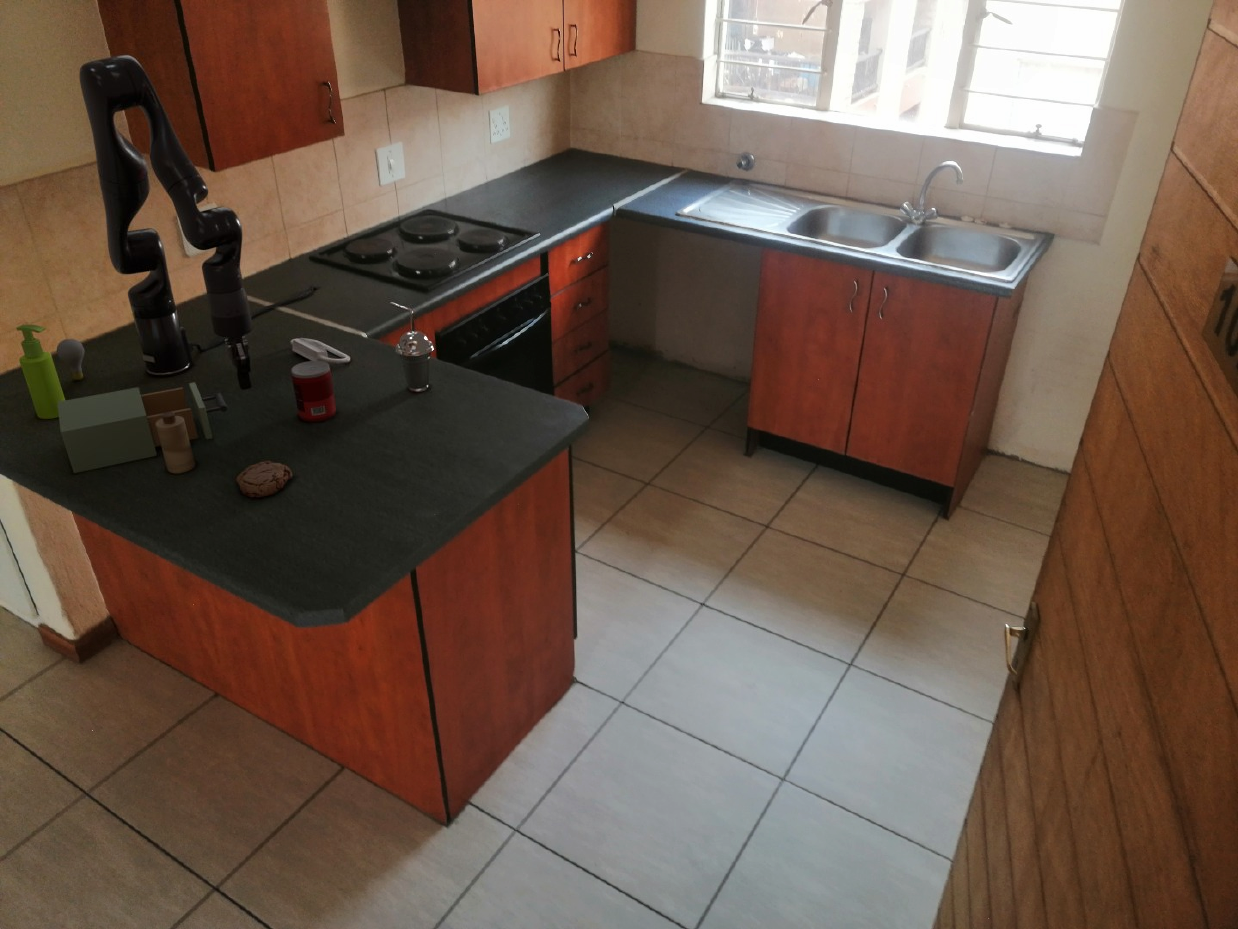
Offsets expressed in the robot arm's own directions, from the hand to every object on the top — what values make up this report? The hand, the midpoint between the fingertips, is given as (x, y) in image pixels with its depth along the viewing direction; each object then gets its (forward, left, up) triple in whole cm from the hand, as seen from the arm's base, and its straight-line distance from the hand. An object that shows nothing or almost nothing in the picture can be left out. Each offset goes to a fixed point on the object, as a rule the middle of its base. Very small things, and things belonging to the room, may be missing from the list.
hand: (245, 387), depth 197 cm
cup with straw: (-31, +19, -8) cm, 37 cm away
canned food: (-9, +10, -8) cm, 16 cm away
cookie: (+17, +24, -8) cm, 30 cm away
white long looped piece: (-32, -14, -8) cm, 36 cm away
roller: (+21, +5, -8) cm, 23 cm away
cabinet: (+24, -13, -8) cm, 28 cm away
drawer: (+12, -7, -7) cm, 15 cm away
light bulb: (+8, -50, -8) cm, 51 cm away
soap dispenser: (+21, -38, -8) cm, 44 cm away
